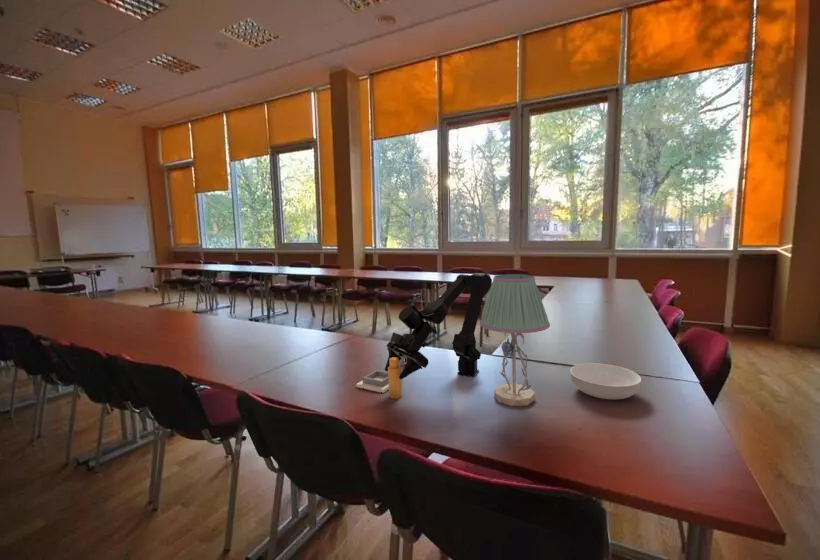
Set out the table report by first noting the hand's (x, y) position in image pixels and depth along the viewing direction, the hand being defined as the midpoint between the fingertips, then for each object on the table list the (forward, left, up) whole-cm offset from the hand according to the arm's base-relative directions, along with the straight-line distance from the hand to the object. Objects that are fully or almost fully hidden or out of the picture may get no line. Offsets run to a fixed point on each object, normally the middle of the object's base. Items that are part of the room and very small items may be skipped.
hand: (392, 374), depth 131 cm
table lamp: (-36, -17, -8) cm, 41 cm away
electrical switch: (+14, -31, -8) cm, 35 cm away
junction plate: (+11, -7, -8) cm, 15 cm away
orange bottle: (0, -1, -8) cm, 8 cm away
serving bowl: (-61, -33, -8) cm, 70 cm away
